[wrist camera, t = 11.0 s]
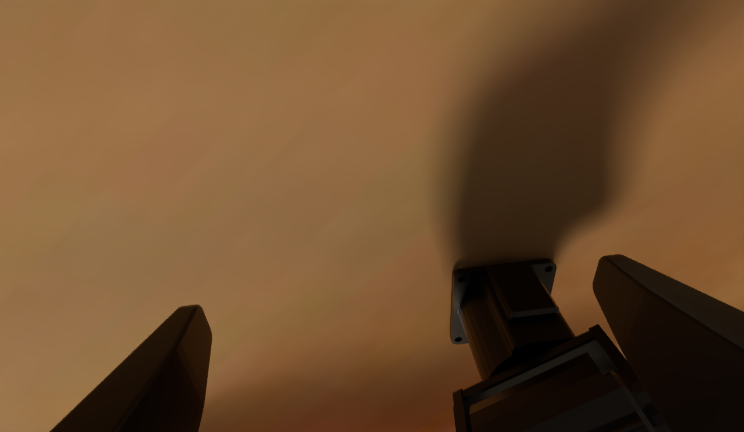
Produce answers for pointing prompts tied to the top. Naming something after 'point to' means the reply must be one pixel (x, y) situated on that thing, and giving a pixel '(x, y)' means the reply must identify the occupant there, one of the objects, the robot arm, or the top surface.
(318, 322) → the top surface
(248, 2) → the top surface
